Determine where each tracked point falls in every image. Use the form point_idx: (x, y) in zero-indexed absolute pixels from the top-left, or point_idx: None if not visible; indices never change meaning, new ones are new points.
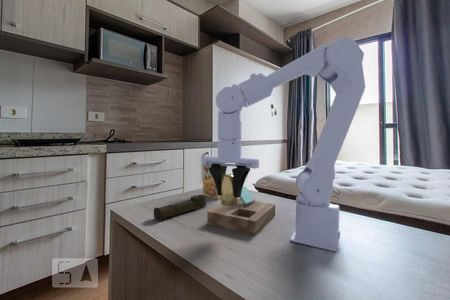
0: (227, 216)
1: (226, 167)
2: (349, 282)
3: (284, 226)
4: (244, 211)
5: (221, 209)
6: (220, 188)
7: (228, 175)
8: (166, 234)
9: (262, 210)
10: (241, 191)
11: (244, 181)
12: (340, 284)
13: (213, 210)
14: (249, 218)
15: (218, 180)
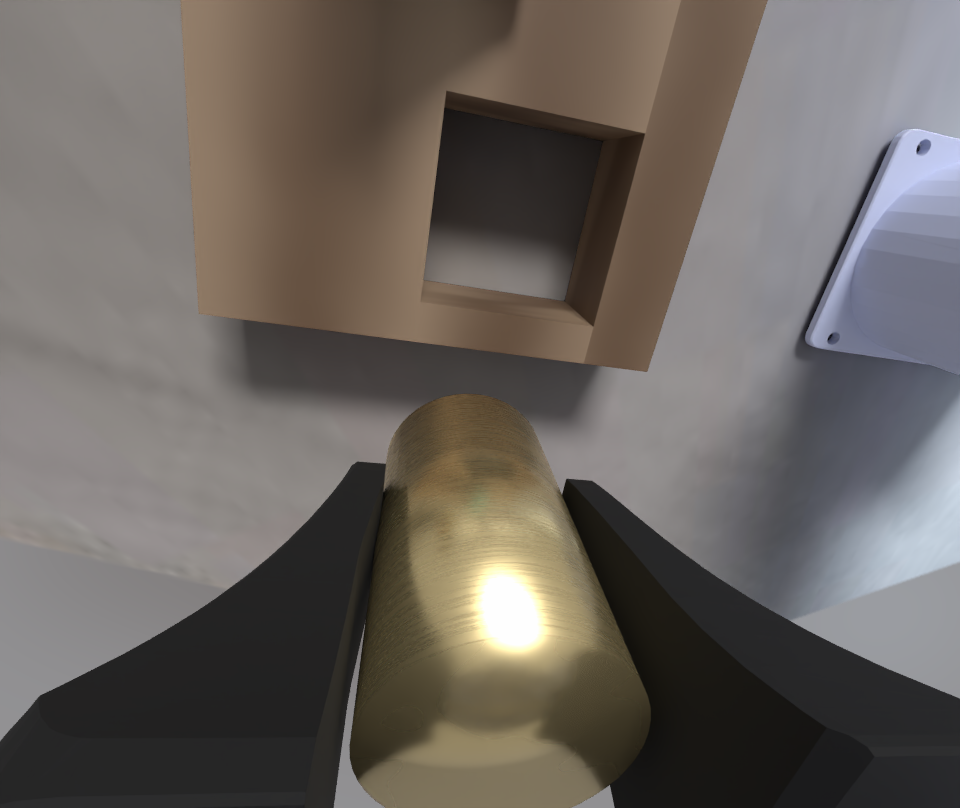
0: (416, 338)
1: (318, 737)
2: (916, 538)
3: (810, 98)
4: (508, 107)
5: (289, 203)
6: (369, 590)
7: (498, 760)
8: (120, 515)
9: (696, 64)
10: (618, 505)
11: (717, 583)
12: (884, 556)
13: (232, 262)
14: (598, 335)
15: (344, 724)
